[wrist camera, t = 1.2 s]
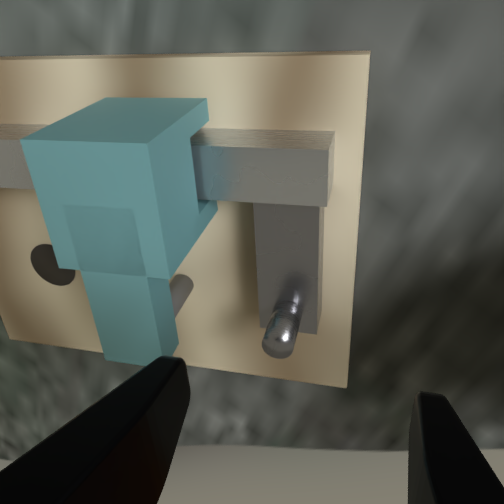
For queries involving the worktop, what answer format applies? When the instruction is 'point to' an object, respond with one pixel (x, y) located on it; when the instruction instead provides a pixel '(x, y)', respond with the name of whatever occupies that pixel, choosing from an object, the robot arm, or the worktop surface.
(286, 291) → the fixed leg
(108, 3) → the worktop surface
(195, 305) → the template board
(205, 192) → the rail
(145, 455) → the robot arm
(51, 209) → the sliding leg
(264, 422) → the worktop surface
